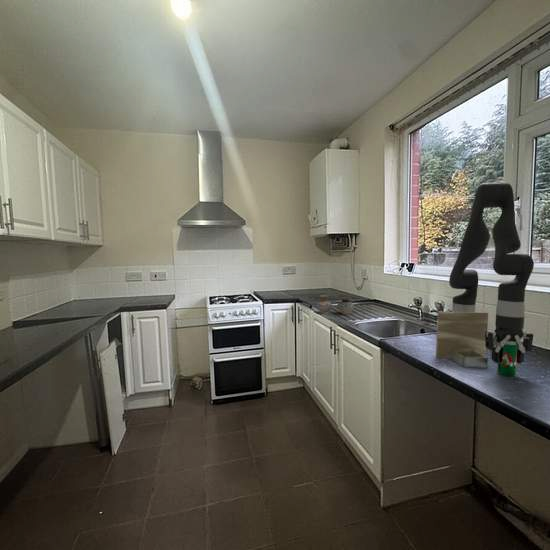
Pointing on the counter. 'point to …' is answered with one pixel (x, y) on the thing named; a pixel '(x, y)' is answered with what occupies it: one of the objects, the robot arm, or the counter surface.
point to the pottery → (343, 306)
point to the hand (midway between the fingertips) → (507, 362)
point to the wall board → (461, 333)
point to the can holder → (469, 359)
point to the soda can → (508, 359)
